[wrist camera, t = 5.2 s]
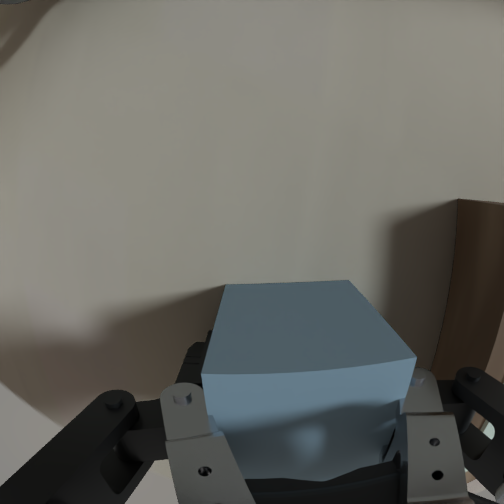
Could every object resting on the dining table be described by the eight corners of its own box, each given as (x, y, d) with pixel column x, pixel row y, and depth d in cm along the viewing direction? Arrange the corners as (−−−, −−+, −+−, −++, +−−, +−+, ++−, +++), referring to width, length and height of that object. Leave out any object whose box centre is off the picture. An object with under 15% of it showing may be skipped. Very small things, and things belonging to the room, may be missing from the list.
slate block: (348, 280, 12) (416, 357, 6) (338, 378, 13) (375, 474, 7) (225, 284, 12) (200, 373, 6) (233, 384, 13) (222, 488, 7)
